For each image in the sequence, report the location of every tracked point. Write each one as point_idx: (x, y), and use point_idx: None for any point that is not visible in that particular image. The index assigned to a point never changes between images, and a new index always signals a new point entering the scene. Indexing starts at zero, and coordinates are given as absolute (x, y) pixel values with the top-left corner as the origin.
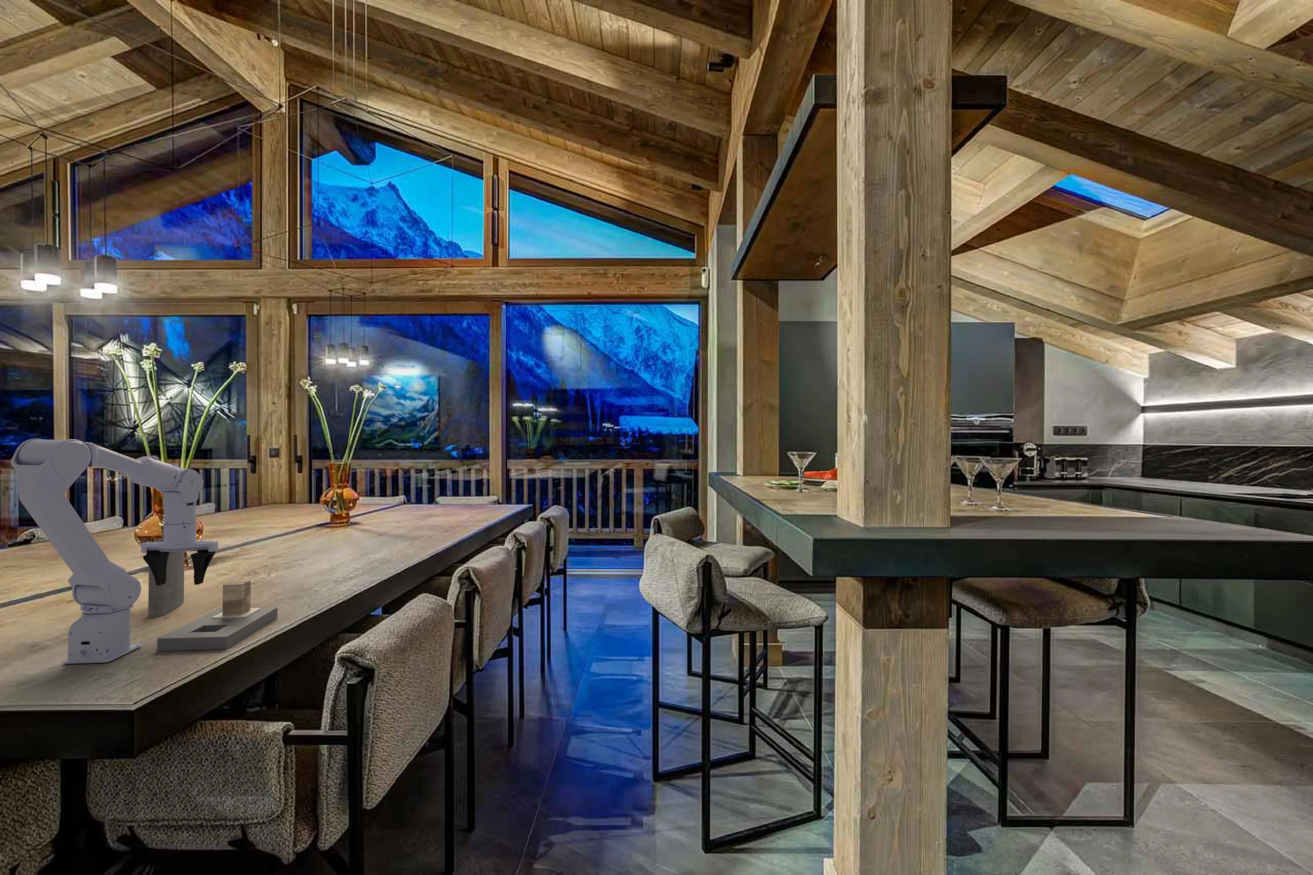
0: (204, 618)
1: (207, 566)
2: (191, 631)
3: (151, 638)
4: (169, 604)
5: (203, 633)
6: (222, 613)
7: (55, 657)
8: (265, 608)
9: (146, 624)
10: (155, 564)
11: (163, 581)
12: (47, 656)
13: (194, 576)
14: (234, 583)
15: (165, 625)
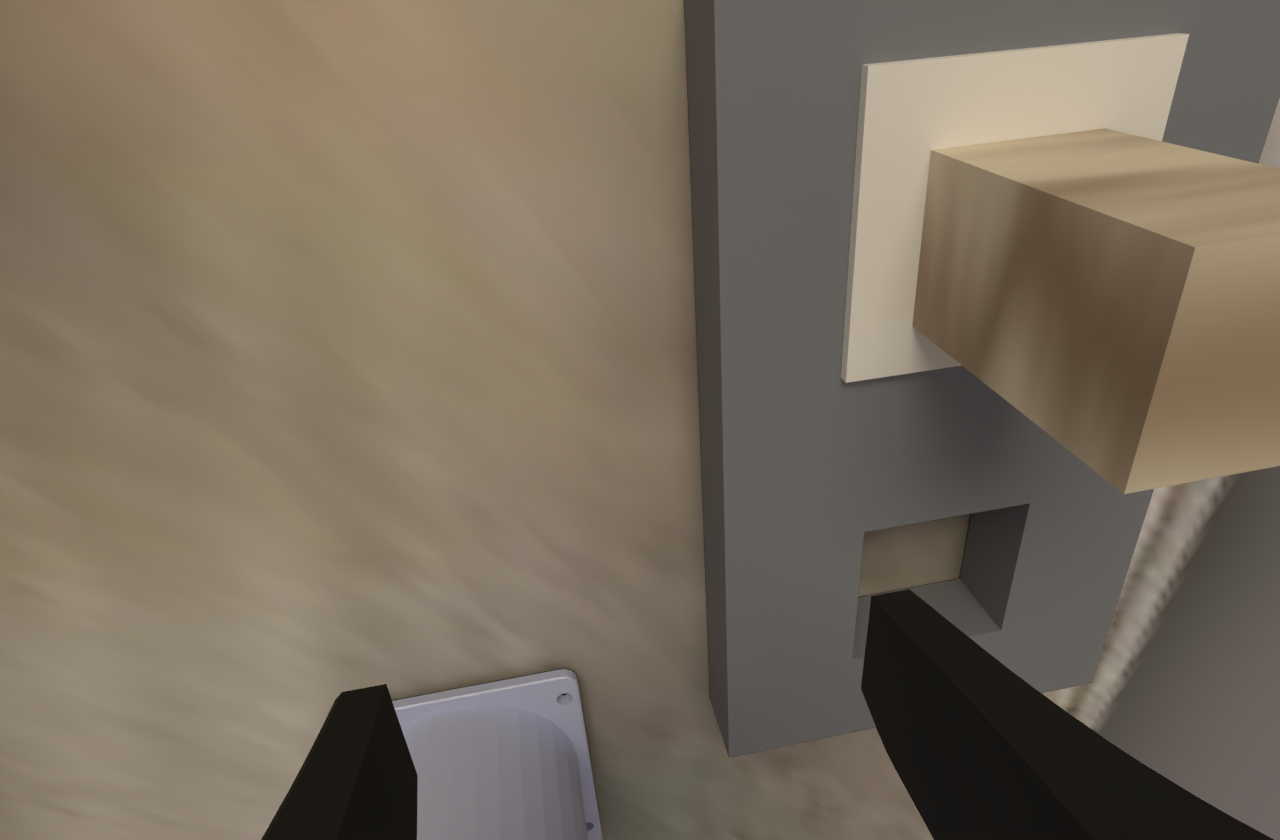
0: (775, 373)
1: (1132, 773)
2: (853, 642)
3: (493, 534)
4: None
5: None
6: (923, 334)
7: (233, 827)
8: None
9: (47, 188)
10: None
11: (396, 756)
12: (164, 826)
13: (929, 813)
14: (1254, 425)
15: (295, 219)
